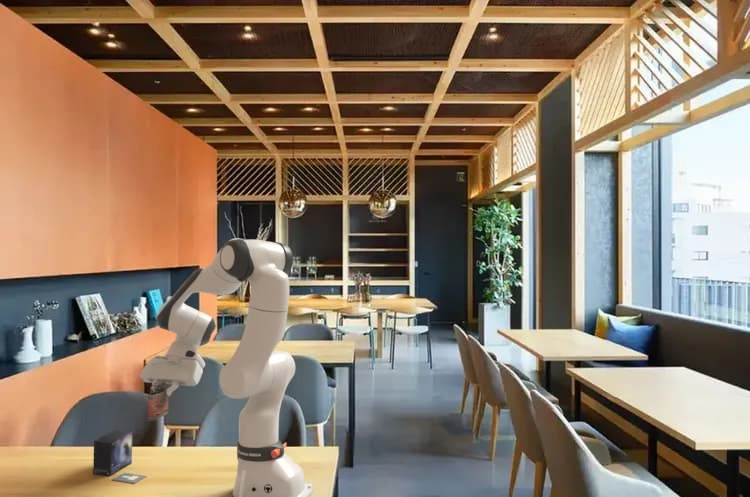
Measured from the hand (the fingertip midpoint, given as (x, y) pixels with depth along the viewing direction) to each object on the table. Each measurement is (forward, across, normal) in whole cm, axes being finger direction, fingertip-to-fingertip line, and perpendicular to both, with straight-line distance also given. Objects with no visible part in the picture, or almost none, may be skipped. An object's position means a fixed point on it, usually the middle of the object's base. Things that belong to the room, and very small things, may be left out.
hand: (159, 394), depth 168 cm
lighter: (+5, 0, +4) cm, 7 cm away
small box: (+19, -14, +14) cm, 28 cm away
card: (+22, -4, +10) cm, 25 cm away
